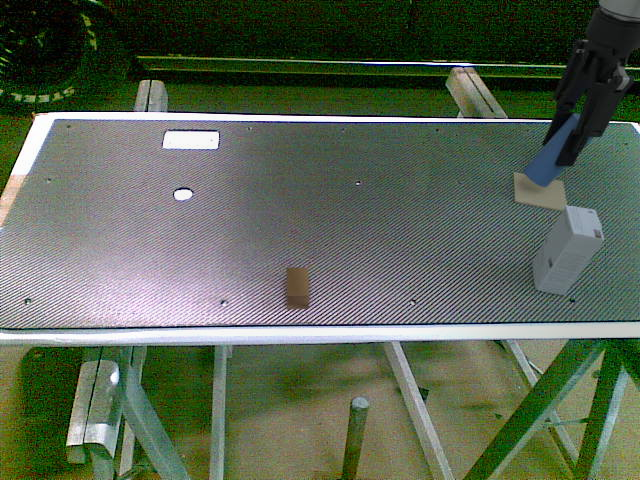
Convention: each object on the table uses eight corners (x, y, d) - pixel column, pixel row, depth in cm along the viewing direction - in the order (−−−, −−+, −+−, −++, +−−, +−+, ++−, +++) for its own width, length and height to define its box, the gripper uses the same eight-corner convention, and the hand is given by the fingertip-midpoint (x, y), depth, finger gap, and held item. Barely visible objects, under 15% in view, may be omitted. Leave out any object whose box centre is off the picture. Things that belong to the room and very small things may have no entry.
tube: (578, 112, 79) (569, 113, 76) (603, 130, 77) (594, 133, 74) (530, 166, 87) (519, 170, 83) (551, 184, 85) (541, 189, 82)
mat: (567, 213, 83) (568, 211, 82) (514, 202, 84) (515, 200, 84) (562, 182, 89) (563, 181, 89) (513, 173, 90) (513, 171, 90)
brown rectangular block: (307, 281, 68) (308, 267, 66) (308, 309, 65) (309, 295, 63) (286, 281, 68) (286, 267, 66) (286, 309, 65) (286, 295, 63)
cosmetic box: (530, 262, 74) (562, 202, 65) (560, 267, 73) (596, 208, 65) (535, 292, 69) (570, 232, 61) (567, 298, 69) (606, 238, 60)
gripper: (570, -11, 71) (517, 126, 87) (633, 38, 58) (557, 188, 74) (618, -9, 71) (556, 127, 88) (691, 40, 58) (602, 188, 75)
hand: (556, 154), depth 81 cm, fingers closed on tube, 5 cm apart
